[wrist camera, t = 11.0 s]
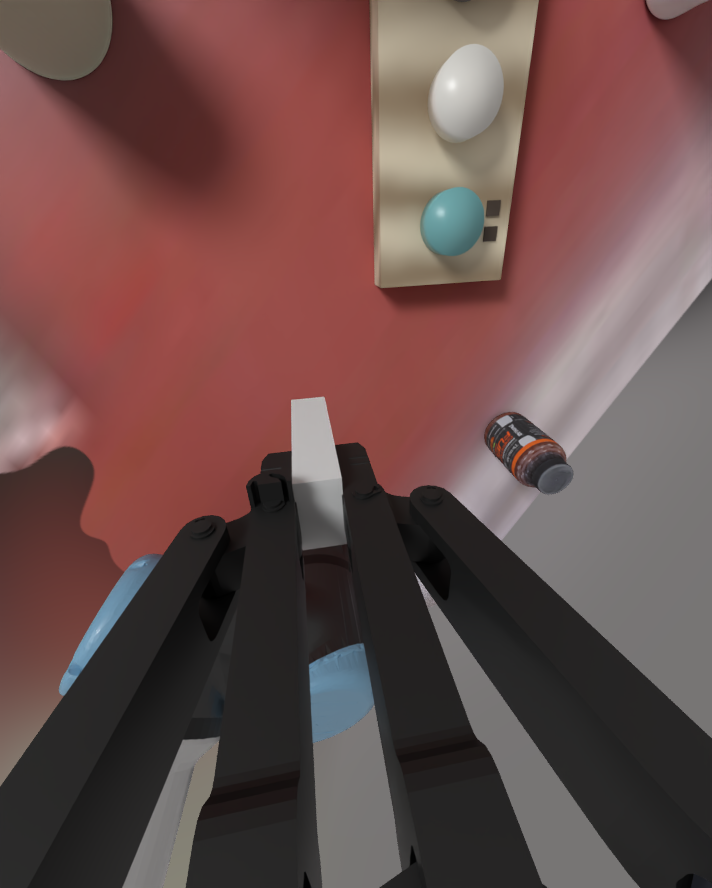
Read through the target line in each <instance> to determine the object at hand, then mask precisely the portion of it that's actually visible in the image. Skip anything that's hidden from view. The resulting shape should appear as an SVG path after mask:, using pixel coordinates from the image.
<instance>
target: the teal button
mask: <svg viewBox="0 0 712 888" xmlns="http://www.w3.org/2000/svg"><path fill="white" fill-rule="evenodd" d="M483 226H484V208H483V205H482V202H481V200H480V199H479V197H478V196H477V195H476V193H474V192H473V191H472V190H470V189H468V188H464V187H455V188H451V189H448V190H444V191H441V192H439V193H437V194H436V195H435V196H433V197H432V198H431V199H430V200H429V202H428V203H427V204H426V206H425V208H424V210H423V213H422V216H421V221H420V231H421V236H422V239H423V241H424V243H425V245H426V246H427V247H428V248H429V249H430V250H431V251H432V252H434V253H436V254H440V255H446V256H457V255H461V254H463V253H465V252H467V251H468V250H469V249H471V248H472V247H473V246H474V244H475V243H476V242H477V240H478V239H479V237H480V235H481V232H482V230H483Z"/></svg>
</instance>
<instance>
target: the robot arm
mask: <svg viewBox="0 0 712 888" xmlns="http://www.w3.org/2000/svg"><path fill="white" fill-rule="evenodd" d="M291 426H292V451H288V452H280V453H271V454H268V455H267V456H266V457H265V458H264V460H263V461H262V465H261V473H260V474H259V475H256V476H254V477H253V478H252V479H251V480H249V481H248V483H247V485H246V488H247V493H248V497H249V501H250V505H251V511H250V512H249V513H248V514H246V515H245V516H243V517H241V518H239V519H236V520H234V521H231V522H228V523H225V520H224V519H222V518H221V517H219V516H214V515H210V516H202V517H199V518H197V519H194V520H192V521H191V522H189V523H187V524H186V525H185V526H184V527H183V528H182V529H181V530H180V532H179V533H178V534H177V536H176V537H175V539H174V540H173V541H172V543H171V544H170V546H169V547H168V549H167V550H166V551H165V553H164V554H163V555H161V554H148V555H145V556H142V557H140V558H139V559H137V560H136V561H134V562H133V563H132V564H131V565H130V566H129V567H128V569H127V570H126V571H125V572H124V574H123V575H122V577H121V578H120V579H119V581H118V582H117V584H116V585H115V587H114V588H113V590H112V591H111V593H110V594H109V596H108V598H107V599H106V601H105V602H104V604H103V605H102V607H101V609H100V610H99V612H98V614H97V616H96V617H95V619H94V620H93V622H92V624H91V625H90V627H89V629H88V631H87V632H86V634H85V636H84V638H83V640H82V641H81V643H80V645H79V647H78V649H77V650H76V652H75V655H74V657H73V660H72V661H71V663H70V665H69V668H68V669H67V671H66V673H65V674H64V676H63V678H62V681H61V683H60V687H59V692H60V694H61V695H63V696H64V697H63V698H62V700H61V701H60V703H59V704H58V705H57V707H56V708H55V710H54V711H53V712H52V714H51V715H50V717H49V718H48V720H47V721H46V723H45V724H44V725H43V727H42V728H41V730H40V731H39V732H38V734H37V735H36V737H35V738H34V739H33V741H32V742H31V744H30V745H29V747H28V748H27V749H26V751H25V752H24V754H23V755H22V757H21V758H20V759H19V761H18V762H17V764H16V765H15V767H14V768H13V769H12V771H11V772H10V774H9V775H8V777H7V778H6V779H5V781H4V782H3V784H2V785H1V786H0V888H163V885H164V881H165V877H166V873H167V869H168V866H169V862H170V858H171V854H172V850H173V846H174V842H175V839H176V835H177V831H178V827H179V823H180V820H181V816H182V812H183V808H184V804H185V801H186V797H187V793H188V789H189V785H190V781H191V778H192V773H193V770H194V766H195V764H196V762H197V761H198V760H199V758H200V757H202V756H203V755H204V754H205V753H206V752H207V751H208V750H209V749H211V748H212V747H213V746H214V745H215V744H216V743H217V742H218V741H219V747H218V755H217V762H216V769H215V777H214V782H213V788H212V791H211V794H210V797H209V798H208V800H207V801H206V802H205V804H204V805H203V806H202V809H201V812H200V815H199V817H198V820H197V825H196V830H195V835H194V840H193V845H192V851H191V858H190V864H189V871H188V877H187V883H186V888H322V879H321V866H320V855H319V846H318V836H317V820H316V799H315V778H314V760H313V759H314V758H313V743H315V742H318V741H321V740H324V739H327V738H330V737H332V736H334V735H337V734H338V733H341V732H343V731H344V730H347V729H348V728H350V727H351V726H353V725H354V724H356V723H357V722H358V721H360V720H361V719H362V718H363V717H364V716H365V715H366V714H367V713H368V712H369V711H370V710H371V709H372V707H373V705H374V704H375V710H376V715H377V721H378V727H379V732H380V738H381V743H382V748H383V754H384V760H385V766H386V771H387V777H388V783H389V788H390V794H391V799H392V805H393V811H394V818H395V824H396V833H397V842H398V847H399V855H400V861H401V867H402V872H401V873H400V874H398V875H397V876H395V877H394V878H393V879H391V880H390V881H388V882H387V883H386V884H384V885H383V886H381V887H380V888H547V887H546V886H545V885H543V884H542V882H541V880H540V878H539V875H538V872H537V869H536V867H535V864H534V862H533V859H532V857H531V854H530V851H529V849H528V846H527V844H526V841H525V838H524V836H523V833H522V831H521V828H520V825H519V823H518V820H517V818H516V815H515V813H514V810H513V807H512V805H511V802H510V800H509V797H508V794H507V792H506V789H505V787H504V784H503V782H502V779H501V776H500V774H499V771H498V769H497V767H496V765H495V762H494V760H493V758H492V756H491V754H490V752H489V751H488V749H487V747H486V746H485V745H484V744H483V743H482V742H480V741H479V740H478V739H477V738H476V736H475V734H474V733H473V730H472V728H471V725H470V723H469V720H468V718H467V715H466V712H465V709H464V707H463V704H462V701H461V698H460V695H459V693H458V690H457V687H456V685H455V682H454V679H453V676H452V674H451V671H450V668H449V665H448V663H447V660H446V657H445V655H444V652H443V649H442V647H441V644H440V641H439V638H438V635H437V633H436V630H435V627H434V625H433V622H432V619H431V616H430V614H429V611H428V608H427V605H426V603H425V600H424V597H423V594H422V592H421V589H420V586H419V583H418V581H417V578H416V575H417V576H418V578H419V579H420V581H421V582H422V584H423V585H424V586H425V588H426V589H427V591H428V592H429V594H430V595H431V596H432V598H433V599H434V601H435V602H436V603H437V605H438V606H439V608H440V609H441V611H442V612H443V613H444V615H445V616H446V618H447V619H448V621H449V622H450V623H451V625H452V626H453V628H454V629H455V631H456V632H457V633H458V635H459V636H460V638H461V639H462V640H463V642H464V643H465V645H466V646H467V648H468V649H469V650H470V652H471V653H472V655H473V656H474V657H475V659H476V660H477V662H478V663H479V665H480V666H481V667H482V669H483V670H484V672H485V673H486V675H487V676H488V677H489V679H490V680H491V682H492V683H493V685H494V686H495V687H496V689H497V690H498V691H499V693H500V694H501V696H502V697H503V699H504V700H505V702H506V703H507V704H508V706H509V707H510V709H511V710H512V712H513V713H514V714H515V716H516V717H517V719H518V720H519V722H520V723H521V724H522V726H523V727H524V729H525V730H526V732H527V733H528V734H529V736H530V737H531V739H532V740H533V741H534V743H535V744H536V746H537V747H538V749H539V750H540V751H541V753H542V754H543V756H544V757H545V759H546V760H547V761H548V763H549V764H550V766H551V767H552V768H553V770H554V771H555V773H556V774H557V775H558V777H559V778H560V780H561V781H562V783H563V784H564V786H565V787H566V788H567V790H568V791H569V793H570V794H571V795H572V797H573V798H574V800H575V801H576V802H577V804H578V805H579V807H580V808H581V810H582V811H583V812H584V814H585V815H586V817H587V818H588V820H589V821H590V822H591V824H592V825H593V827H594V828H595V830H596V831H597V832H598V834H599V835H600V837H601V838H602V839H603V841H604V842H605V843H606V845H607V846H608V847H609V849H610V850H611V851H612V853H613V854H614V855H615V857H616V858H617V859H618V860H619V862H620V863H621V865H622V866H623V867H624V869H625V870H626V871H627V873H628V874H629V875H630V876H631V877H632V879H633V880H634V881H635V882H636V883H637V884H638V886H639V887H640V888H712V738H711V737H709V736H708V735H707V734H706V733H705V732H704V731H703V730H702V729H701V728H700V727H699V726H698V725H697V724H696V723H694V722H693V721H692V720H691V719H690V718H689V717H688V716H687V715H686V714H685V713H684V712H682V710H681V709H680V708H679V707H678V706H676V705H675V704H674V703H673V702H672V701H671V700H670V699H669V698H668V697H667V696H666V695H665V694H664V693H663V692H661V690H659V689H658V688H657V687H656V686H655V685H654V684H653V683H652V682H651V681H650V680H649V679H648V678H647V677H645V675H643V674H642V673H641V672H640V671H639V670H638V669H637V668H636V667H635V666H634V665H633V664H632V663H631V662H629V660H627V659H626V658H625V657H624V656H623V655H622V654H621V653H620V652H619V651H618V650H617V649H616V648H615V647H614V646H613V645H612V644H610V643H609V642H608V641H607V640H606V639H605V638H604V637H603V636H602V635H601V634H600V633H599V632H598V631H597V630H596V629H594V628H593V627H592V626H591V625H590V624H589V623H588V622H587V621H586V620H585V619H584V618H583V617H582V616H581V615H579V613H577V612H576V611H575V610H574V609H573V608H572V607H571V606H570V605H569V604H568V603H567V602H566V601H565V600H564V599H563V598H561V597H560V596H559V595H558V594H557V593H556V592H555V591H554V590H553V589H552V588H551V587H550V586H549V585H548V584H547V583H546V582H544V581H543V580H542V579H541V578H540V577H539V576H538V575H537V574H536V573H535V572H534V571H533V570H532V569H530V567H528V566H527V565H526V564H525V563H524V562H523V561H522V560H521V559H520V558H519V557H518V556H517V555H516V554H515V553H514V552H512V551H511V550H510V549H509V548H508V547H507V546H506V545H505V544H504V543H503V542H502V541H501V540H500V539H499V538H498V537H497V536H495V535H494V534H493V533H492V532H491V531H490V530H489V529H488V528H487V527H486V526H485V525H484V524H483V523H482V522H481V521H479V520H478V519H477V518H476V517H475V516H474V515H473V514H472V513H471V512H470V511H469V510H468V509H467V508H466V507H465V506H464V505H462V504H461V503H460V502H459V501H458V500H457V499H456V498H455V497H454V496H453V495H452V494H451V493H450V492H448V491H447V490H445V489H444V488H441V487H437V486H430V485H427V486H421V487H418V488H416V489H414V490H413V491H412V492H411V494H410V497H401V496H394V495H391V494H388V493H386V492H385V491H384V489H383V488H382V486H381V485H379V484H377V481H376V478H375V475H374V472H373V469H372V467H371V464H370V461H369V458H368V455H367V452H366V450H365V448H364V447H363V446H361V445H360V444H359V443H349V444H340V445H335V444H334V440H333V435H332V430H331V426H330V421H329V416H328V412H327V407H326V402H325V398H324V397H317V398H307V399H298V400H291ZM414 572H415V573H414ZM415 574H416V575H415Z"/></svg>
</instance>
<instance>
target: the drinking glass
mask: <svg viewBox="0 0 712 888" xmlns="http://www.w3.org/2000/svg"><path fill="white" fill-rule="evenodd" d="M707 1H709V0H646V3H647V6H648V8H649V10H650V12H651V13H652V14H653V15H654V16H655V17H657V18H659V19H663V20H668V19H672V18H675V17H678V16H680V15H682V14H683V13H685V12H687V11H689V10H691V9H692V8H694V7H696V6H698V5H700V4H702V3H705V2H707Z"/></svg>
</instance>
